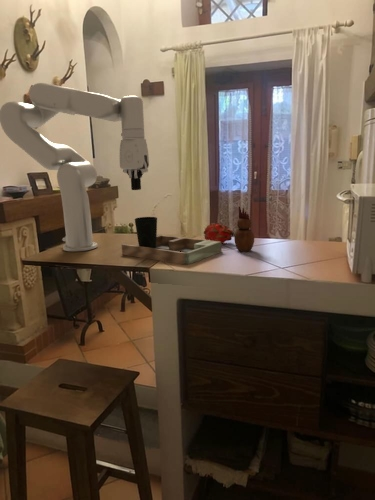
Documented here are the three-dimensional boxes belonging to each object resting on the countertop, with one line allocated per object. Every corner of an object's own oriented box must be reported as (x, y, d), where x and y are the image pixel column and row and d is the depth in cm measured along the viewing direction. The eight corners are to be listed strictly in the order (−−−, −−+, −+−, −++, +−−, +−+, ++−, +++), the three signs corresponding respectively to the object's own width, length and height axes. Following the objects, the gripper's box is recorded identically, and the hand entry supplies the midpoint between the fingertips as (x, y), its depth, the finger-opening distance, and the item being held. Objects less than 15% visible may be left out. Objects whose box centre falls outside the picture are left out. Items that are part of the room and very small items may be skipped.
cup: (156, 255, 132) (154, 220, 129) (134, 255, 133) (131, 220, 130) (161, 250, 139) (159, 216, 136) (140, 250, 140) (138, 216, 138)
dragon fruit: (202, 246, 150) (232, 252, 146) (197, 237, 142) (229, 243, 138) (208, 226, 153) (238, 232, 149) (204, 216, 145) (235, 222, 141)
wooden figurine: (231, 249, 135) (231, 206, 132) (245, 247, 138) (245, 205, 134) (243, 253, 129) (242, 208, 126) (257, 251, 132) (257, 206, 128)
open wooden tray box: (122, 254, 135) (121, 244, 134) (159, 243, 150) (158, 234, 149) (187, 264, 118) (186, 253, 117) (221, 251, 133) (221, 241, 132)
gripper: (109, 136, 134) (113, 190, 138) (142, 133, 126) (145, 191, 130) (125, 136, 140) (128, 188, 144) (157, 134, 132) (159, 189, 136)
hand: (136, 189), depth 137 cm, fingers closed
